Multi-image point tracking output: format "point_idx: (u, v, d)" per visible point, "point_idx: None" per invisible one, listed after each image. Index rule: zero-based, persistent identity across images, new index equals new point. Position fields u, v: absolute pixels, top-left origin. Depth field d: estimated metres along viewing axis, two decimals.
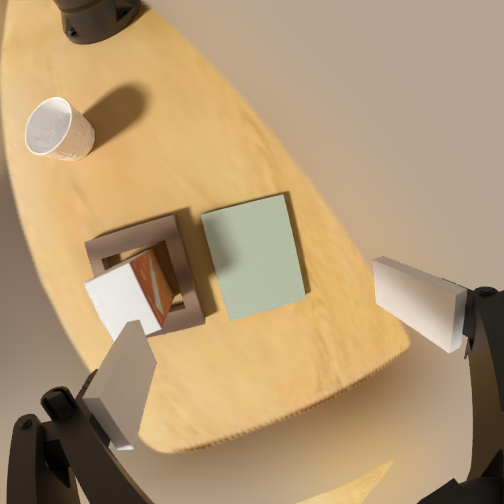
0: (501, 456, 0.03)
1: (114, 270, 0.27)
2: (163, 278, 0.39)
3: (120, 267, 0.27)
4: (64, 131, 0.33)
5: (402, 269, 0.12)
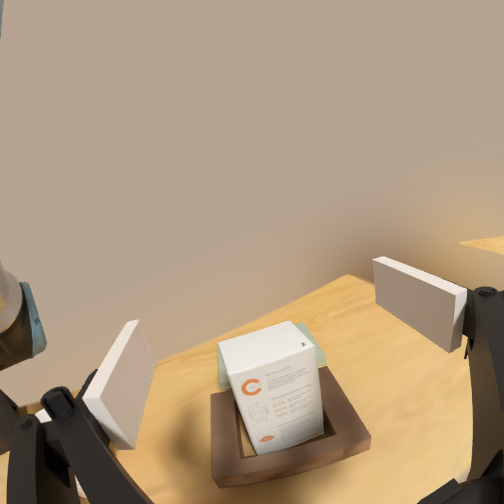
0: (501, 456, 0.03)
1: (221, 350, 0.26)
2: None
3: (220, 347, 0.26)
4: None
5: (402, 269, 0.12)
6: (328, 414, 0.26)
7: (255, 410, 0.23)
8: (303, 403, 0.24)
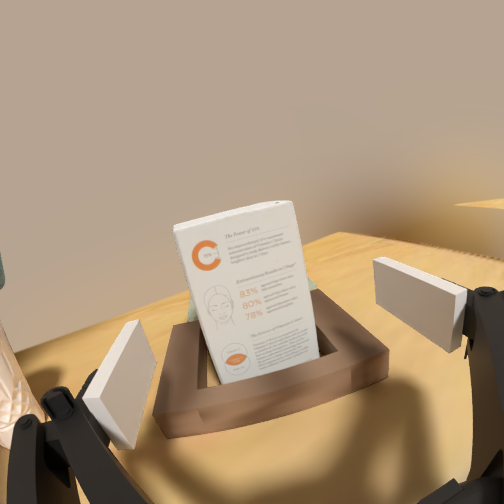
0: (501, 456, 0.03)
1: (174, 226, 0.21)
2: None
3: (174, 225, 0.21)
4: None
5: (402, 269, 0.12)
6: (323, 331, 0.21)
7: (215, 300, 0.18)
8: (284, 297, 0.19)
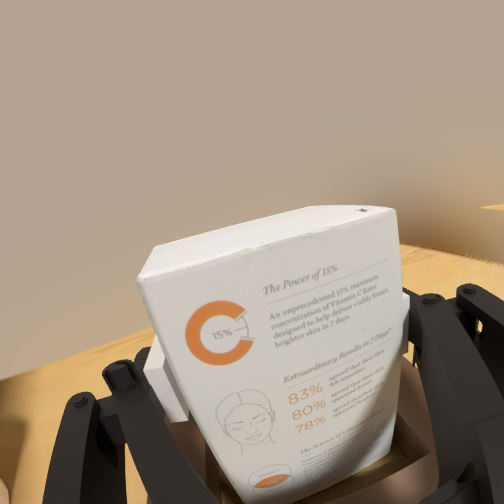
0: (472, 466, 0.03)
1: (153, 251, 0.10)
2: None
3: (154, 250, 0.11)
4: None
5: None
6: (401, 413, 0.11)
7: (238, 414, 0.08)
8: (364, 388, 0.09)
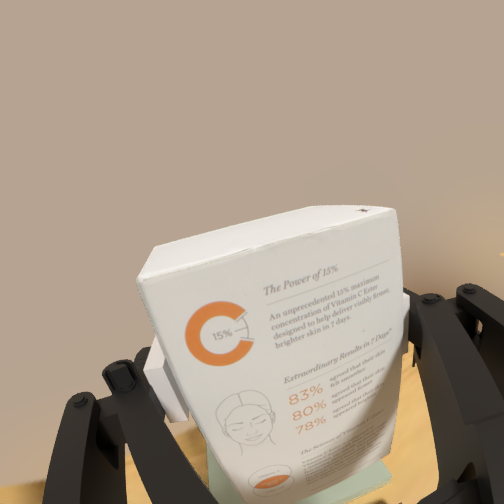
0: (472, 466, 0.03)
1: (152, 252, 0.10)
2: None
3: (154, 250, 0.11)
4: None
5: None
6: None
7: (238, 414, 0.08)
8: (364, 389, 0.09)
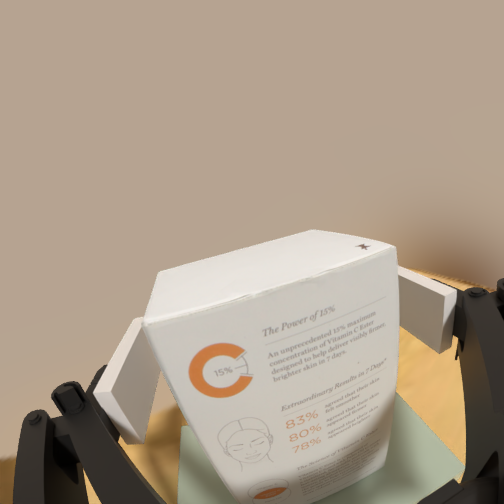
0: (496, 458, 0.03)
1: (156, 281, 0.11)
2: None
3: (158, 277, 0.11)
4: None
5: None
6: None
7: (238, 438, 0.08)
8: (359, 413, 0.09)
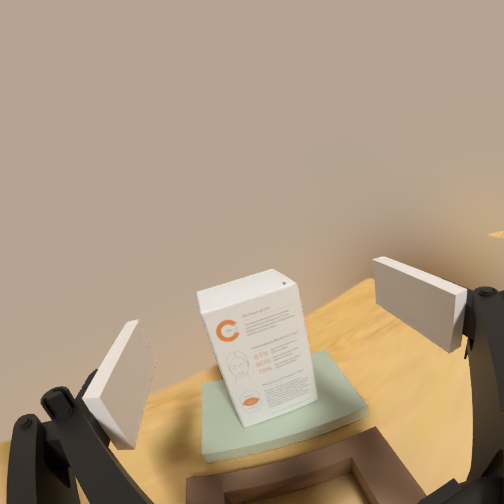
0: (501, 456, 0.03)
1: (198, 297, 0.25)
2: None
3: (197, 295, 0.25)
4: None
5: (402, 269, 0.12)
6: None
7: (234, 361, 0.22)
8: (289, 356, 0.23)
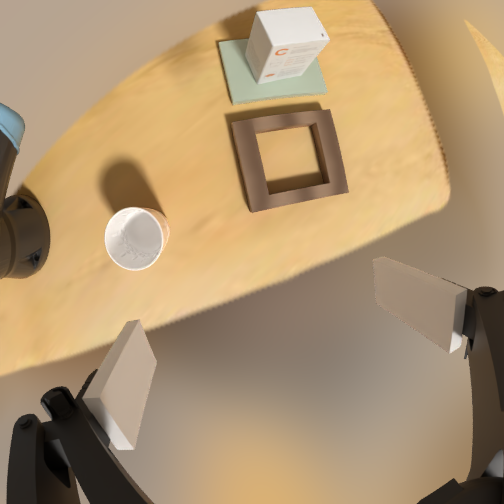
0: (501, 456, 0.03)
1: (262, 21, 0.25)
2: None
3: (259, 17, 0.25)
4: (138, 242, 0.41)
5: (402, 269, 0.12)
6: (326, 163, 0.42)
7: (275, 62, 0.31)
8: (302, 61, 0.33)
